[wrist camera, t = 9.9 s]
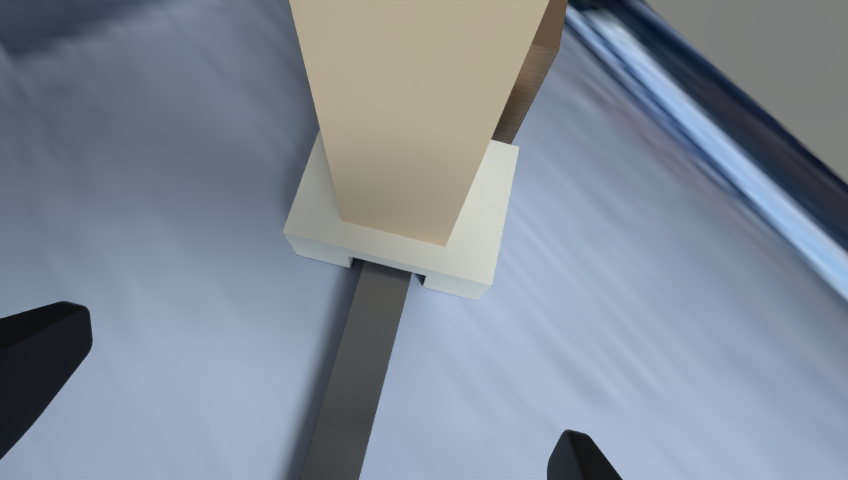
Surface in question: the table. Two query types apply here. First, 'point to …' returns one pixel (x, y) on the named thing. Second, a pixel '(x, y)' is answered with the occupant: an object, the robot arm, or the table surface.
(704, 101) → the table surface
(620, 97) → the table surface
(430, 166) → the cream block on base
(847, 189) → the table surface
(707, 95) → the table surface
